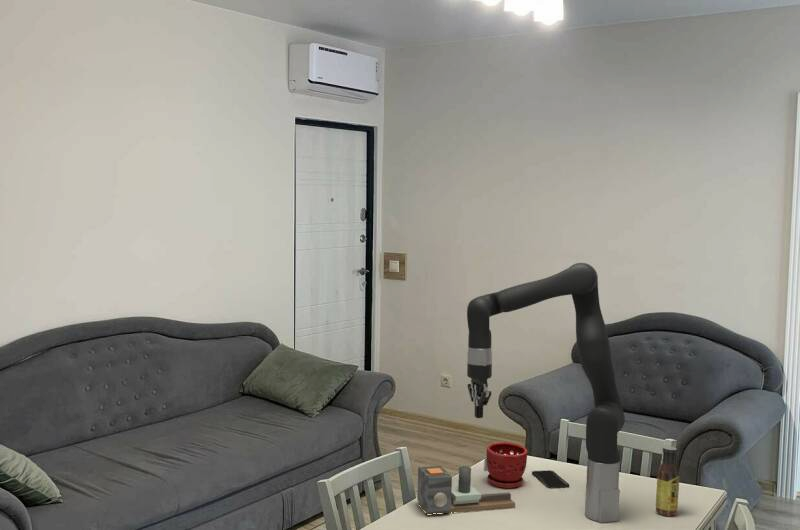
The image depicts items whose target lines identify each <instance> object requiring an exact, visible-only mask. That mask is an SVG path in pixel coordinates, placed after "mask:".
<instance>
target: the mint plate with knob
mask: <svg viewBox="0 0 800 530" xmlns="http://www.w3.org/2000/svg"><path fill="white" fill-rule="evenodd" d="M471 478H472V468H471V467H470V466H464V465H463V466H459V467H458V483H457V484H458V485H457V486H458V487H452V492H451V497H452V498H453V504H454V505H455V504H466V503H477V502H479V499H481V495H482V493H480V492H479V491H478V490H477V489H476V488H475V487H474V486H472V485H471V482H472V481H471V480H472V479H471Z"/></svg>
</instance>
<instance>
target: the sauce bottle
mask: <svg viewBox="0 0 800 530" xmlns="http://www.w3.org/2000/svg"><path fill="white" fill-rule="evenodd" d="M677 454H678V448H676V447H675V446H670V445H669V446H667V445H666V446H663V447H662V461H661V462H662V463H661V464H660V465H659V467H658V469H657V477H656V478H657V479H656V490H655V491H656V494H655V495H656V496H655V511H656V513H657V514H659V515H661V516H664V517H674V516H676V515H677V510H678V507H679V506H678V503H679V490H680V488H679V487H680V473H679V469H678V466H677Z"/></svg>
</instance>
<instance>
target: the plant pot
mask: <svg viewBox="0 0 800 530" xmlns="http://www.w3.org/2000/svg"><path fill="white" fill-rule="evenodd" d="M500 450H502V452H501V453H500ZM511 452H512V454H511ZM517 453H518V454H517ZM503 454H504V455H503ZM485 458H487V467H488V471H489V472H488V473H489V474H488V475H487V481H488V482H489V483H490V484H491V485H493V486H495V487H499V488H502V489H514V488H517V487H520V486H521V485H522V484H523V482H524V478H523V475H524V473H525V470H526V466H527V463H528V461H527V460H528V450H527V448H526V447H525V446H522V445H520V444H517V443H511V442H495V443H494V442H493V443H491V444H489V445H487V447H486V457H485Z"/></svg>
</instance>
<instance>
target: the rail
mask: <svg viewBox="0 0 800 530" xmlns="http://www.w3.org/2000/svg"><path fill="white" fill-rule="evenodd" d="M432 468H440V469H441V470H442V471H443V472H444V474H437V475H429V474H428V473H427V472H426V469H432ZM417 471H418V472H417V505H418V504H419V505H420V506H421V508H422V509H423V510H424V511H425V512H426V513H427V514H433V513H436V514H437V513H451V512H452V513H453V514H455V513H454V512H464V513H469V512H468V511H475V512H482V511H483V510H486V511H493V510H495V509H497V510H506V509H516V502H515V501H514V500H513V499H512V494H511V493H510V492H509V491H508V492H506V491H505V492H497V493H494V492H493V493H484V494H483V493H481V499H479V502H477V503H466V504H455V505H454V504H453V498H452V497H451V492H452V488H453V480H452V479H453V476H452V475H451V474H450V473H449V472H448V471H447V470H446V469H444V468H443V466H442V465H433V466H432V465H431V466H430V465H429V466H418V467H417ZM421 508H420V509H421ZM481 510H482V511H481ZM483 512H484V511H483Z"/></svg>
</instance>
